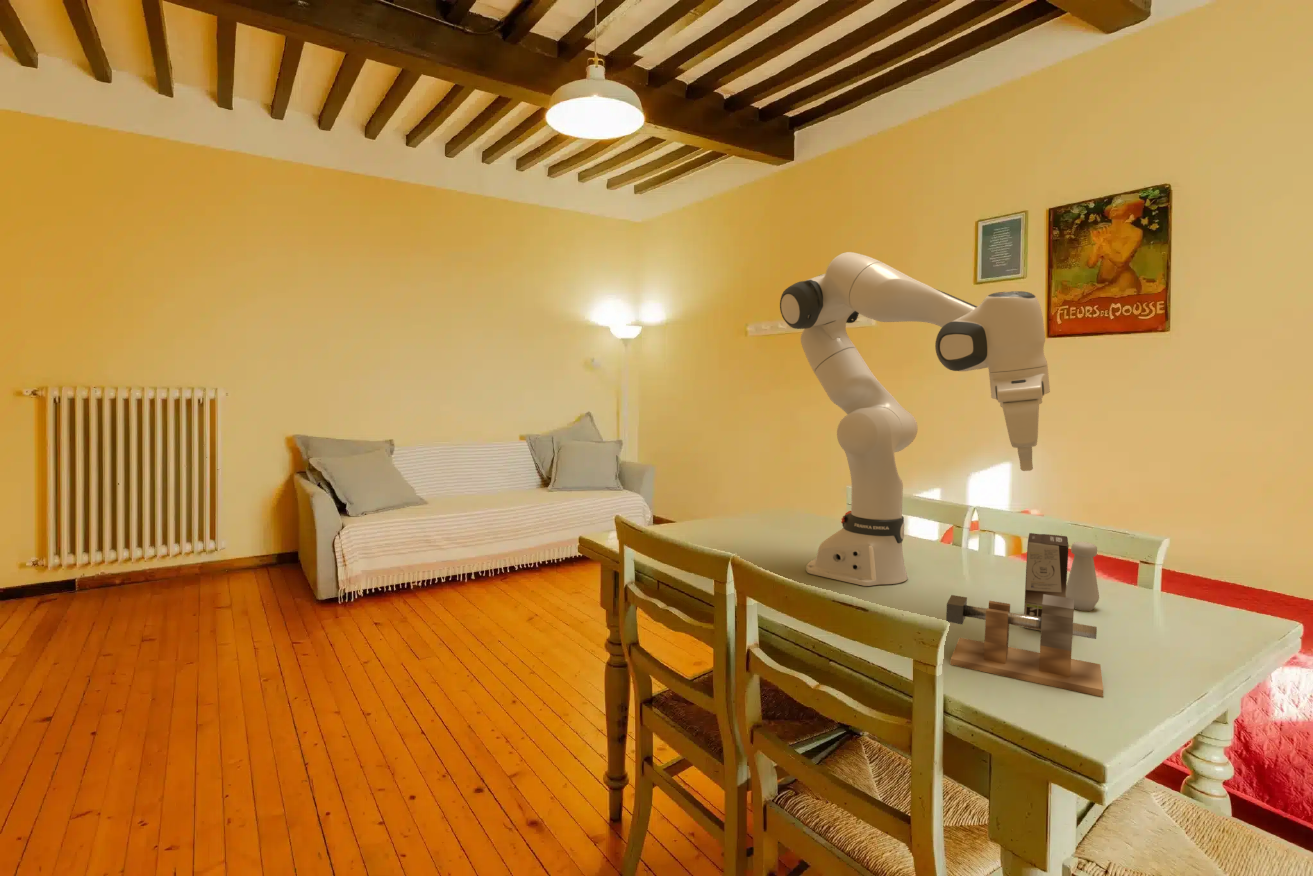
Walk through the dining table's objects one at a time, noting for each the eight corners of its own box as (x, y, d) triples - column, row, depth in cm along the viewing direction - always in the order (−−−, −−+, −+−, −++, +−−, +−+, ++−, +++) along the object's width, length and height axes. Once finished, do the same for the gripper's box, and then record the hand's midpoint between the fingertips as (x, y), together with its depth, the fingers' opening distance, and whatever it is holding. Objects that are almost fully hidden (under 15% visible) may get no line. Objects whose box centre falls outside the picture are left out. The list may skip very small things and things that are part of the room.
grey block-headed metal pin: (946, 621, 105) (946, 603, 105) (950, 612, 110) (951, 594, 109) (1096, 648, 95) (1097, 628, 94) (1095, 637, 99) (1096, 617, 99)
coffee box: (1064, 635, 115) (1069, 546, 113) (1022, 628, 118) (1026, 541, 117) (1064, 619, 123) (1068, 535, 121) (1024, 613, 126) (1029, 531, 125)
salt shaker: (1104, 613, 126) (1107, 547, 124) (1071, 611, 127) (1074, 546, 126) (1090, 603, 131) (1093, 540, 130) (1059, 601, 132) (1062, 538, 131)
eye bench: (950, 664, 103) (953, 594, 102) (959, 643, 112) (961, 578, 111) (1103, 696, 93) (1107, 619, 92) (1100, 670, 101) (1104, 599, 100)
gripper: (1000, 382, 122) (1007, 455, 123) (996, 393, 104) (1004, 477, 106) (1039, 378, 119) (1045, 452, 120) (1042, 388, 101) (1050, 475, 103)
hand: (1026, 464), depth 113 cm, fingers open, 8 cm apart
